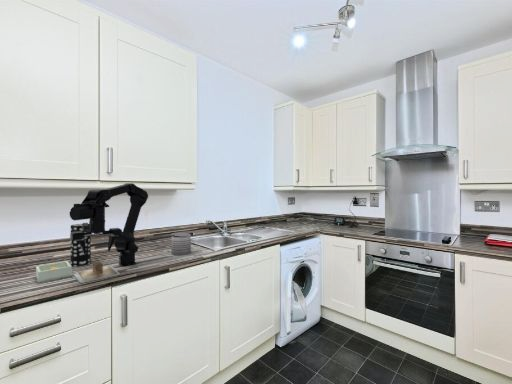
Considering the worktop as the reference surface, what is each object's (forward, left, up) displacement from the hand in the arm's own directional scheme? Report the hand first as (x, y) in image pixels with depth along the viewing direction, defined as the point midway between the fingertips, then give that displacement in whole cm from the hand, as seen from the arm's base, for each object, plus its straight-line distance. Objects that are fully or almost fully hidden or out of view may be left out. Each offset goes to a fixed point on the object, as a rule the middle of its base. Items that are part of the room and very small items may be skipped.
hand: (97, 252), depth 109 cm
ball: (+14, -11, -8) cm, 19 cm away
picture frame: (0, 0, -10) cm, 10 cm away
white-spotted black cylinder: (+2, -24, -10) cm, 26 cm away
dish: (+14, -11, -10) cm, 20 cm away
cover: (0, 0, -9) cm, 9 cm away
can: (-45, -8, -10) cm, 47 cm away
